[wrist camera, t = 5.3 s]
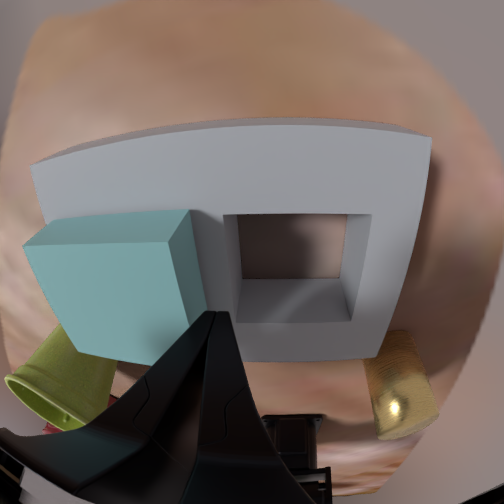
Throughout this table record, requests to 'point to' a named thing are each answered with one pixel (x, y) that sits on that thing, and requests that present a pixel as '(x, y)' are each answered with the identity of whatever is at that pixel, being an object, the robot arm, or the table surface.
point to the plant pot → (64, 382)
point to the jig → (267, 202)
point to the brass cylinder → (399, 388)
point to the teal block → (121, 281)
